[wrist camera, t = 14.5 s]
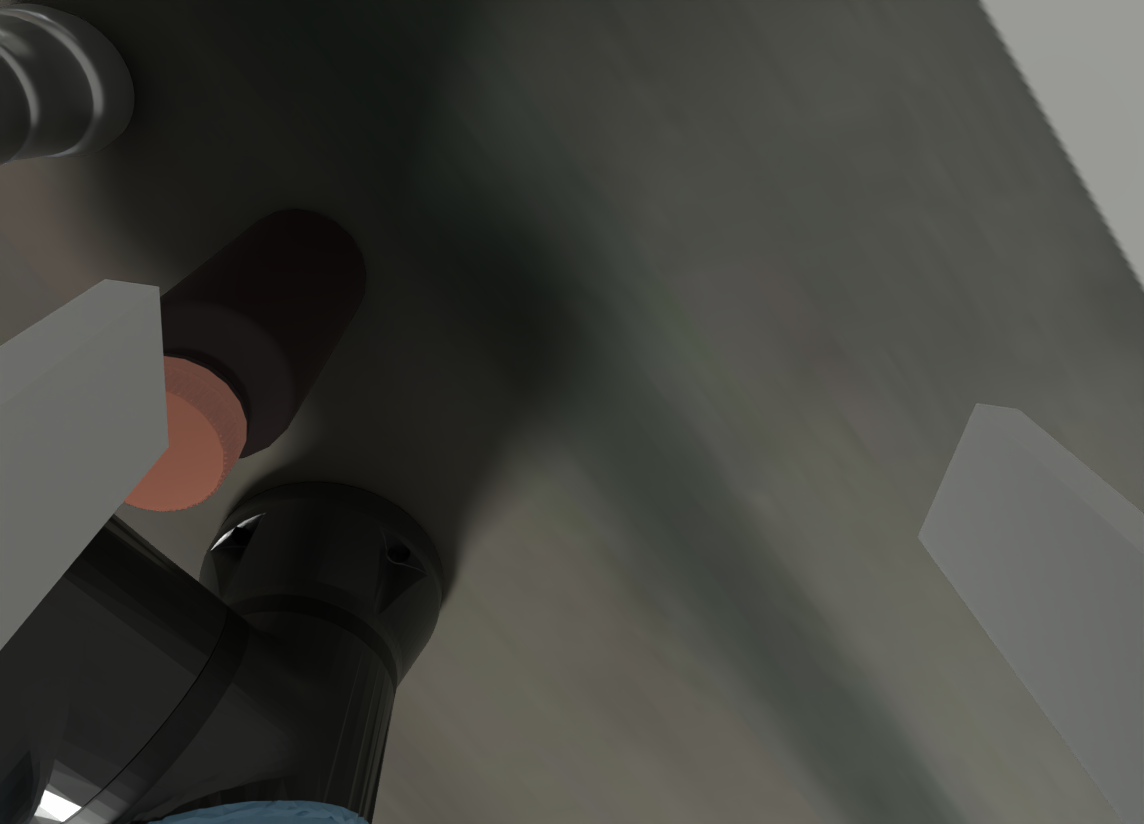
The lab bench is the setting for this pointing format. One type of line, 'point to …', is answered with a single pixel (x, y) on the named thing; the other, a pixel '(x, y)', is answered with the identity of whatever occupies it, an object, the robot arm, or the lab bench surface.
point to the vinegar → (247, 348)
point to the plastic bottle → (58, 85)
